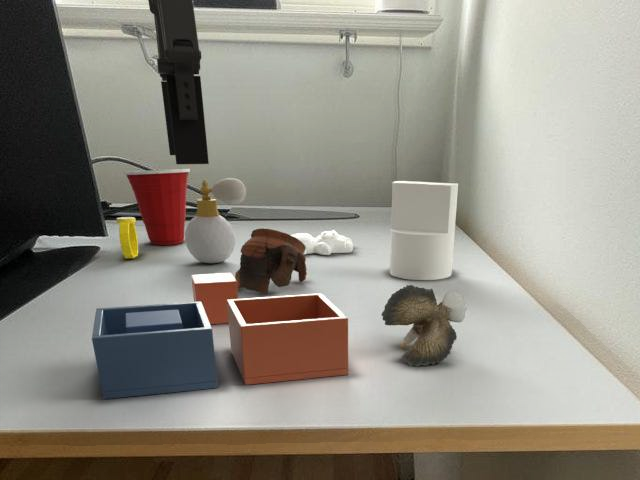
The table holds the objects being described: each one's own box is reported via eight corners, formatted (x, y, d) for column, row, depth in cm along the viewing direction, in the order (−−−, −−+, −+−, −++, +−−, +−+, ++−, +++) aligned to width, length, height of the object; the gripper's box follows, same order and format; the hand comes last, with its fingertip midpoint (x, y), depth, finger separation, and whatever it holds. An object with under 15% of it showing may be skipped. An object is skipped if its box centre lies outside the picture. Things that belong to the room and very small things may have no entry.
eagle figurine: (382, 322, 69) (361, 330, 61) (424, 265, 66) (408, 265, 58) (439, 368, 69) (426, 382, 61) (483, 312, 66) (476, 319, 58)
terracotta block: (195, 314, 76) (190, 274, 74) (234, 311, 77) (231, 272, 75) (199, 325, 72) (194, 283, 70) (240, 322, 73) (236, 281, 71)
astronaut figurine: (352, 255, 107) (352, 236, 106) (278, 255, 107) (277, 235, 106) (353, 246, 115) (353, 227, 113) (284, 245, 115) (284, 227, 113)
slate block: (133, 362, 60) (125, 312, 57) (184, 357, 61) (178, 309, 59) (134, 379, 56) (125, 327, 54) (188, 374, 57) (182, 322, 55)
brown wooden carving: (219, 288, 89) (234, 228, 89) (280, 312, 94) (294, 255, 94) (257, 281, 79) (274, 214, 79) (322, 308, 84) (338, 245, 84)
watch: (137, 261, 102) (130, 220, 99) (118, 261, 102) (111, 220, 99) (144, 254, 107) (138, 215, 104) (126, 254, 107) (120, 215, 104)
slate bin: (106, 363, 61) (96, 308, 59) (207, 354, 64) (201, 301, 61) (103, 399, 54) (91, 338, 51) (218, 387, 56) (212, 328, 53)
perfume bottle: (190, 257, 105) (181, 174, 99) (252, 256, 106) (246, 174, 100) (185, 267, 98) (174, 179, 93) (250, 266, 99) (244, 179, 94)
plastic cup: (180, 235, 124) (171, 164, 118) (209, 243, 117) (201, 168, 111) (124, 241, 118) (112, 167, 112) (151, 250, 110) (139, 171, 105)
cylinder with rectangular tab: (459, 270, 98) (466, 181, 92) (439, 282, 91) (446, 187, 85) (403, 264, 101) (406, 179, 95) (379, 276, 94) (381, 184, 88)
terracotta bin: (231, 352, 64) (226, 299, 62) (322, 344, 67) (321, 293, 64) (245, 385, 57) (240, 326, 54) (348, 374, 59) (348, 318, 56)
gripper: (218, -193, 43) (244, 168, 53) (192, -94, 64) (214, 151, 74) (96, -208, 41) (148, 169, 51) (110, -101, 62) (145, 152, 72)
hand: (187, 159), depth 63 cm, fingers open, 13 cm apart
